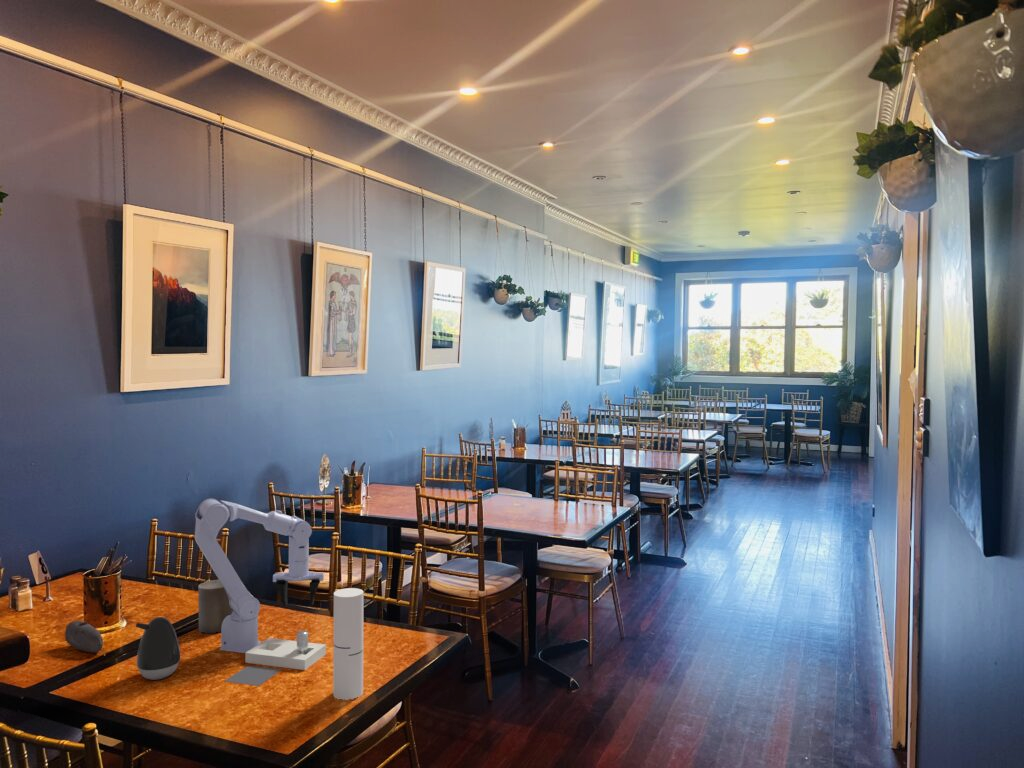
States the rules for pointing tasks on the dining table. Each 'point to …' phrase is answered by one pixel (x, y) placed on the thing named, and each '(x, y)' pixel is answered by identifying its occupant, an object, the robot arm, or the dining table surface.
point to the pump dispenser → (158, 649)
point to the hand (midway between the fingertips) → (298, 604)
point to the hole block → (284, 654)
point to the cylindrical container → (348, 643)
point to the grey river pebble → (83, 637)
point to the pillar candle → (212, 606)
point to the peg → (302, 642)
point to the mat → (253, 675)
